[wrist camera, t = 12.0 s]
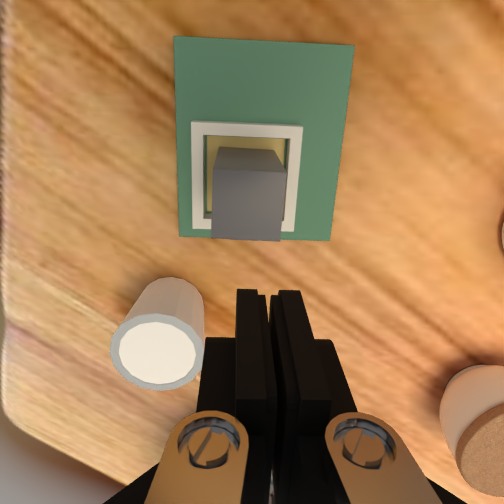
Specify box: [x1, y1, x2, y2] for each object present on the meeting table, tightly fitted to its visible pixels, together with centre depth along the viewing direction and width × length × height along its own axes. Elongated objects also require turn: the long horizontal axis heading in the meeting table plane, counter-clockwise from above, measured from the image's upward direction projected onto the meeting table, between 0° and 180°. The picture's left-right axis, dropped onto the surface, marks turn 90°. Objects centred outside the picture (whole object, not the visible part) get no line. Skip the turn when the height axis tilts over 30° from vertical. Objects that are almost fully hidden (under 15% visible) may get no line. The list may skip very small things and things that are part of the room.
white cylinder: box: [109, 277, 205, 391], centre depth 32 cm, size 7×7×7 cm
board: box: [174, 36, 355, 241], centre depth 29 cm, size 14×12×3 cm
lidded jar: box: [439, 365, 504, 497], centre depth 36 cm, size 11×11×9 cm
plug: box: [211, 147, 287, 241], centre depth 26 cm, size 5×4×8 cm
